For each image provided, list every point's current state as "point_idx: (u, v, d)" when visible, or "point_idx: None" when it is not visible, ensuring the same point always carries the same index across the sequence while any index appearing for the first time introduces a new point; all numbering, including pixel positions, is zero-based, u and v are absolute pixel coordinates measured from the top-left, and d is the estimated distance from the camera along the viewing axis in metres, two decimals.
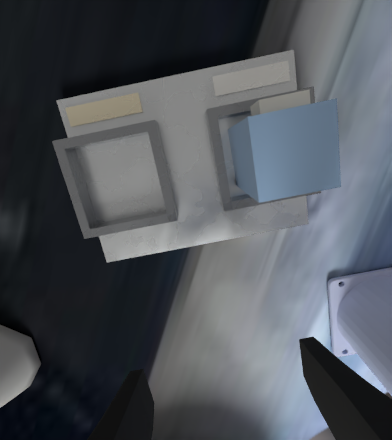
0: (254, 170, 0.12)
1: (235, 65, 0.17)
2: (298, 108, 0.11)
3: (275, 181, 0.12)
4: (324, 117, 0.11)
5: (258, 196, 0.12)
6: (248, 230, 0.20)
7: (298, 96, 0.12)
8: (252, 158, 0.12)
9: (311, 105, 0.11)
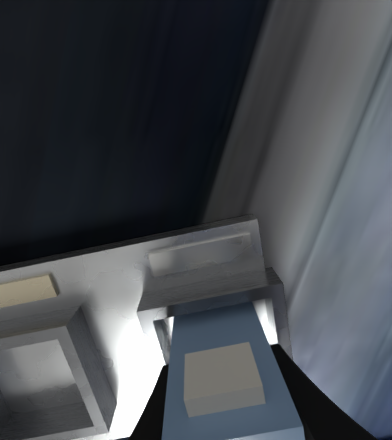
0: None
1: (179, 238, 0.12)
2: (241, 439, 0.07)
3: None
4: None
5: None
6: None
7: (245, 394, 0.08)
8: None
9: (262, 437, 0.07)
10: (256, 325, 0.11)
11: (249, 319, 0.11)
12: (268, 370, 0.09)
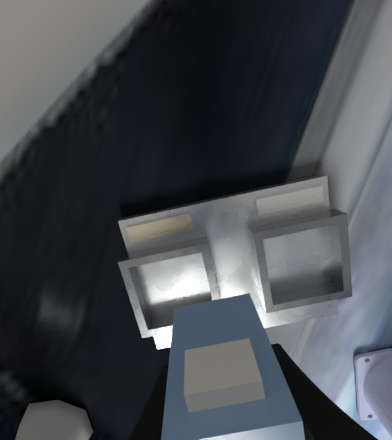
0: None
1: (275, 189, 0.19)
2: (241, 434, 0.07)
3: None
4: None
5: None
6: (284, 320, 0.22)
7: (245, 389, 0.08)
8: None
9: (262, 432, 0.07)
10: (256, 322, 0.11)
11: (249, 316, 0.11)
12: (268, 366, 0.09)
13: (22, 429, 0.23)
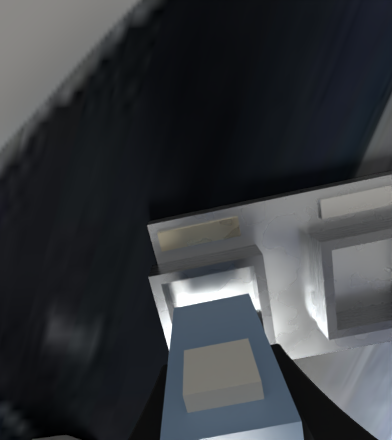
0: None
1: (345, 187, 0.15)
2: (240, 434, 0.07)
3: None
4: None
5: None
6: (343, 345, 0.18)
7: (244, 390, 0.08)
8: None
9: (260, 432, 0.07)
10: (255, 322, 0.11)
11: (249, 316, 0.11)
12: (267, 366, 0.09)
13: None
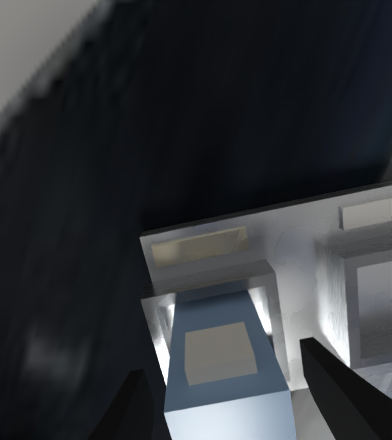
0: None
1: (371, 193, 0.13)
2: (235, 401, 0.08)
3: None
4: (273, 410, 0.08)
5: None
6: (364, 372, 0.16)
7: (239, 364, 0.09)
8: None
9: (253, 399, 0.08)
10: (251, 309, 0.12)
11: (245, 304, 0.12)
12: (261, 346, 0.10)
13: None
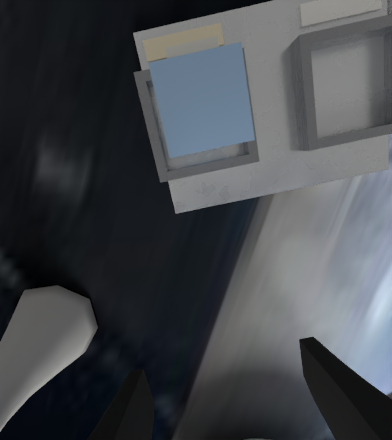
0: (162, 123, 0.11)
1: None
2: (201, 53, 0.11)
3: (184, 135, 0.12)
4: (230, 63, 0.11)
5: (168, 151, 0.12)
6: (325, 176, 0.19)
7: (206, 43, 0.11)
8: (159, 109, 0.11)
9: (214, 49, 0.11)
10: None
11: None
12: None
13: (16, 310, 0.20)
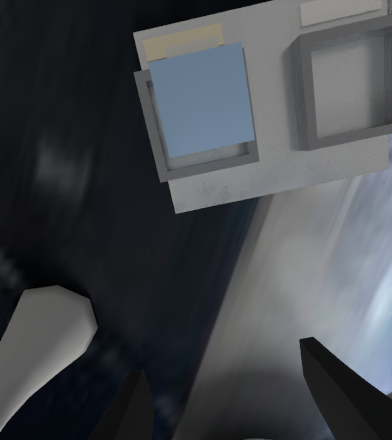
0: (162, 122, 0.11)
1: None
2: (201, 53, 0.11)
3: (184, 135, 0.12)
4: (230, 63, 0.11)
5: (168, 151, 0.12)
6: (325, 176, 0.19)
7: (206, 43, 0.11)
8: (159, 109, 0.11)
9: (214, 49, 0.11)
10: None
11: None
12: None
13: (16, 310, 0.20)
